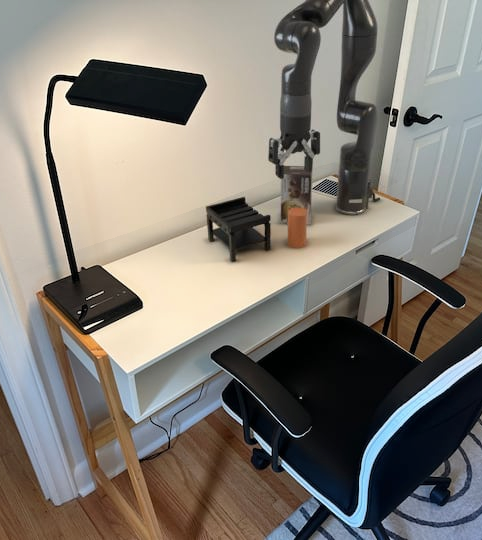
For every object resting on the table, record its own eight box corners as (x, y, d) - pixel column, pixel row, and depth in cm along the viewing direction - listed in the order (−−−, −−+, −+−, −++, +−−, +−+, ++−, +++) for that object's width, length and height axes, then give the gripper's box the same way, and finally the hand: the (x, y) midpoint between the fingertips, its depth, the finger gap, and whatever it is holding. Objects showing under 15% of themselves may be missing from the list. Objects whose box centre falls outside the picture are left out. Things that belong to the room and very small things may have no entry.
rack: (245, 229, 150) (244, 196, 144) (270, 249, 140) (270, 215, 135) (207, 240, 144) (204, 206, 139) (231, 262, 135) (229, 227, 129)
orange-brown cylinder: (298, 237, 146) (299, 205, 141) (309, 245, 143) (311, 212, 137) (283, 242, 144) (284, 210, 139) (294, 250, 140) (295, 217, 135)
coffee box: (311, 215, 158) (313, 166, 149) (310, 225, 152) (312, 174, 144) (281, 214, 158) (282, 164, 150) (279, 223, 153) (280, 173, 144)
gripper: (279, 119, 117) (278, 185, 126) (328, 110, 124) (325, 173, 133) (262, 111, 123) (263, 175, 132) (310, 103, 129) (308, 164, 138)
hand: (294, 174), depth 132 cm, fingers open, 8 cm apart
